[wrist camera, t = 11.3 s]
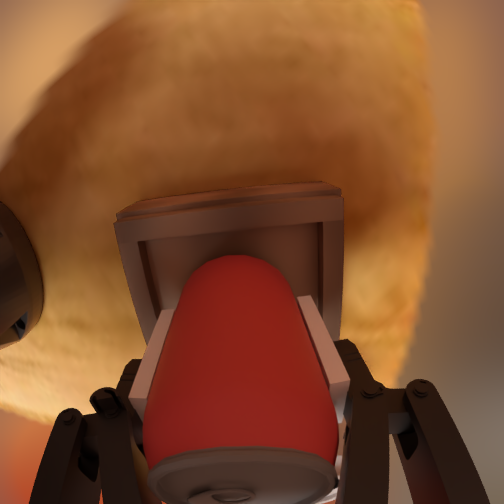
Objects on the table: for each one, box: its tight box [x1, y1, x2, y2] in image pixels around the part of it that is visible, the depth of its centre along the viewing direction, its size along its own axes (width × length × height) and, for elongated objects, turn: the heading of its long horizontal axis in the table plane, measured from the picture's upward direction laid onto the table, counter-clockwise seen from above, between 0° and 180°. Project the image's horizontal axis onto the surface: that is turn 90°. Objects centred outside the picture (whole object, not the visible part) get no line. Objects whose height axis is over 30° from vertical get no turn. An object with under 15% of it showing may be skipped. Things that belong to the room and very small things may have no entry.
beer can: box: [143, 255, 339, 504], centre depth 12 cm, size 7×7×12 cm
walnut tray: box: [114, 181, 344, 346], centre depth 19 cm, size 13×13×5 cm
